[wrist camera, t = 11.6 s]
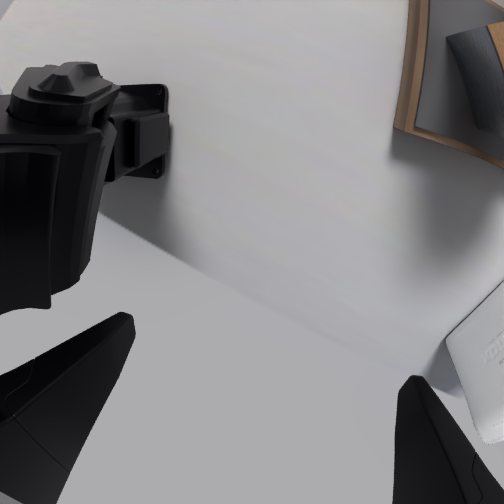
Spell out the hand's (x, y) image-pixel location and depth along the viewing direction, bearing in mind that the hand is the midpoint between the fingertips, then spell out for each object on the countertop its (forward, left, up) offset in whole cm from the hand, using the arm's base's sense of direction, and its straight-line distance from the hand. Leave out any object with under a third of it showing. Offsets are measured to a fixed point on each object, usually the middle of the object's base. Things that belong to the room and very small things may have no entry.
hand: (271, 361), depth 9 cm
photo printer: (+20, -6, -13) cm, 25 cm away
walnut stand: (+11, +12, -13) cm, 21 cm away
